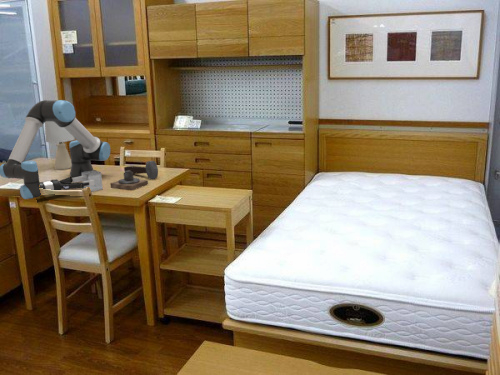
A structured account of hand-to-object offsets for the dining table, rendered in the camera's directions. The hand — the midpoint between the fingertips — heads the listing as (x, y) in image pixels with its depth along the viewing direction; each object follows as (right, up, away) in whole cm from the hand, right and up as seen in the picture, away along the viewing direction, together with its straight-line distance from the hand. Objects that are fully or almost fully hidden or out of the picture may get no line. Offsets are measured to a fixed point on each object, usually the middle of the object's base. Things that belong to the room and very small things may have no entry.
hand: (88, 180), depth 281 cm
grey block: (+1, -5, +3) cm, 6 cm away
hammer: (+22, +3, +33) cm, 40 cm away
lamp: (-38, +9, +63) cm, 74 cm away
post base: (+21, -3, +8) cm, 23 cm away
